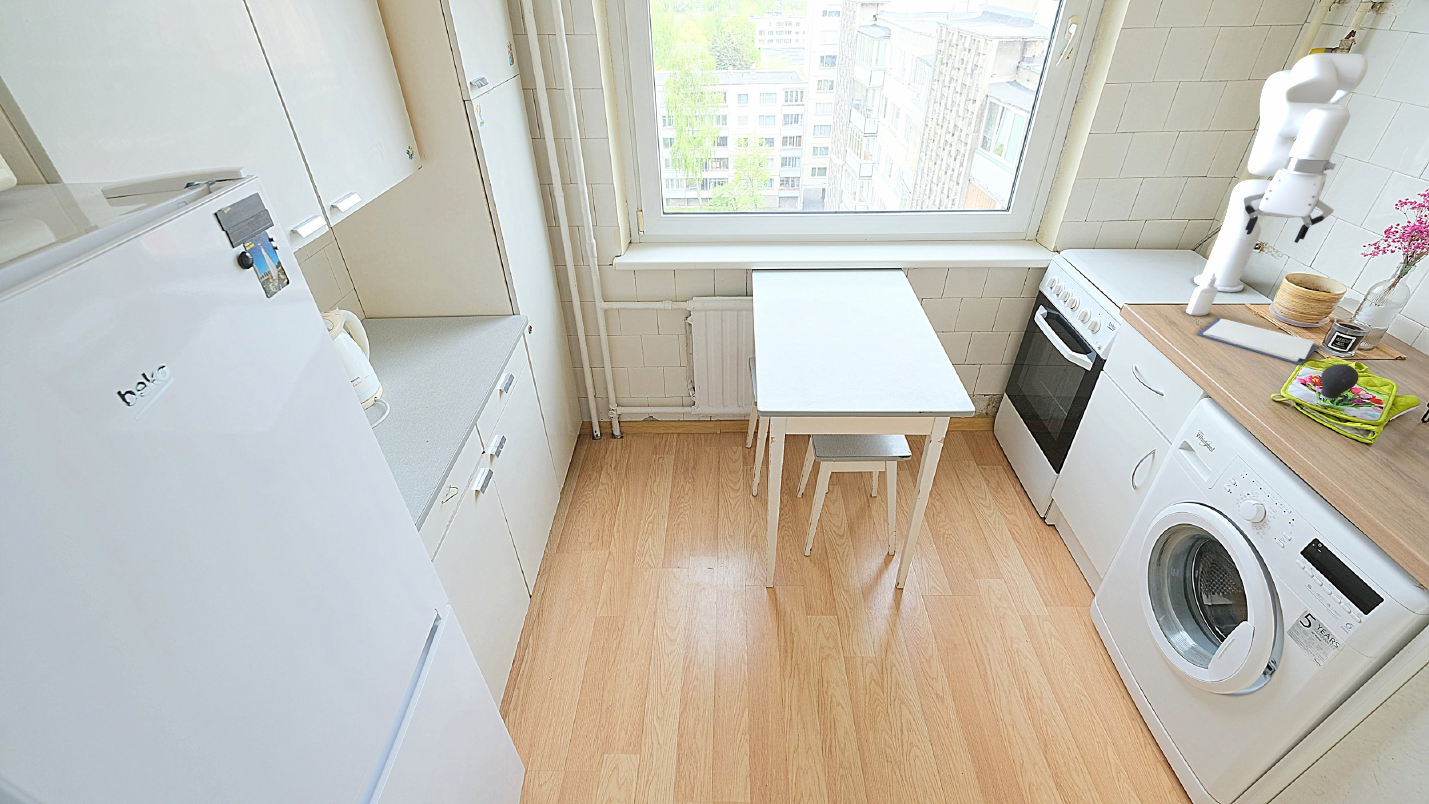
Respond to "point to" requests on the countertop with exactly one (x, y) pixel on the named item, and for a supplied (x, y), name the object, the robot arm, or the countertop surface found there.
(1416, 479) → the countertop surface
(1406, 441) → the countertop surface
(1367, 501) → the countertop surface
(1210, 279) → the eye dropper bottle
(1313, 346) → the grey flat slab
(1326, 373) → the light bulb
